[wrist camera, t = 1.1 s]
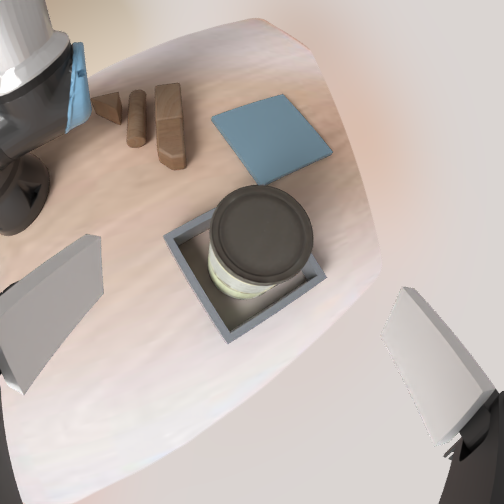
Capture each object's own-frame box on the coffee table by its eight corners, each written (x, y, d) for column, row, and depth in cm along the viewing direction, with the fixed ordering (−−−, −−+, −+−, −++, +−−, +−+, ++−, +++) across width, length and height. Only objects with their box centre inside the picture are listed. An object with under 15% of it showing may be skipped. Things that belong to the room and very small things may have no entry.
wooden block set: (179, 75, 42) (187, 151, 38) (180, 96, 48) (187, 170, 44) (90, 91, 39) (77, 171, 35) (97, 110, 44) (88, 188, 40)
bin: (166, 244, 39) (163, 235, 36) (258, 195, 44) (263, 183, 40) (225, 342, 37) (227, 344, 34) (316, 282, 42) (327, 277, 38)
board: (211, 120, 47) (211, 116, 46) (281, 97, 51) (282, 94, 50) (260, 187, 44) (261, 184, 43) (330, 154, 49) (332, 152, 48)
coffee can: (211, 226, 41) (216, 177, 28) (279, 235, 43) (313, 193, 30) (202, 296, 39) (203, 278, 25) (275, 303, 40) (312, 290, 27)
